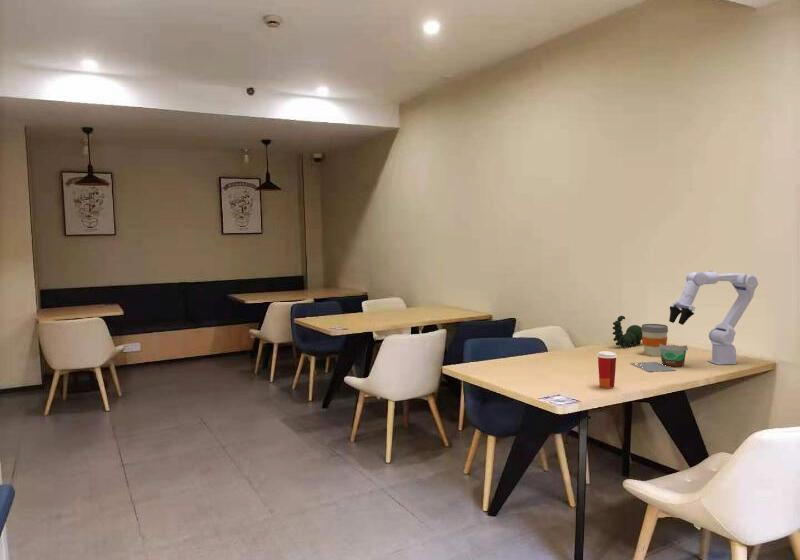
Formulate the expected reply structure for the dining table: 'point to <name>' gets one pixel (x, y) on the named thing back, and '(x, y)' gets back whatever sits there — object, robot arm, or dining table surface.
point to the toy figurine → (627, 334)
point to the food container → (673, 355)
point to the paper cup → (606, 368)
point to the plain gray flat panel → (653, 366)
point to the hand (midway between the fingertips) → (675, 323)
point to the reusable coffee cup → (654, 338)
